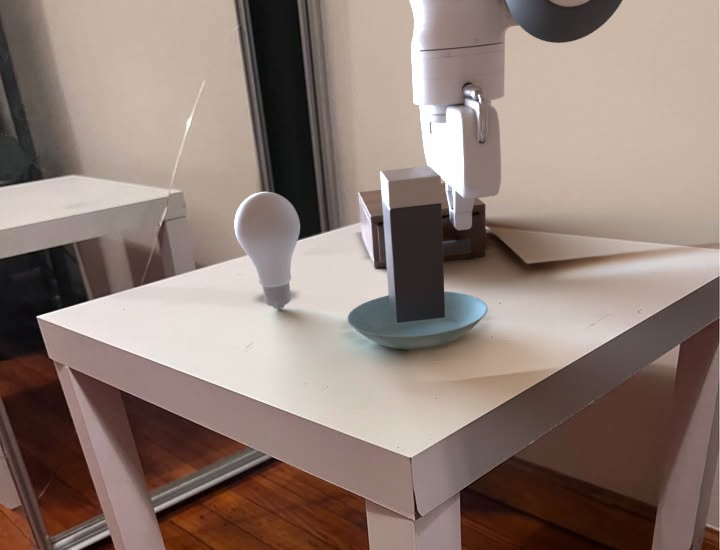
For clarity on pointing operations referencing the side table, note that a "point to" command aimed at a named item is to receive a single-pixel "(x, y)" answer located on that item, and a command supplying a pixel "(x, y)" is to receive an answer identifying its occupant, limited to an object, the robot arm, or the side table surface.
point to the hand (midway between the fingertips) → (460, 227)
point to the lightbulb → (269, 242)
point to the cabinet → (374, 214)
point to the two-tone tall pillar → (413, 242)
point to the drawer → (448, 237)
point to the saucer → (417, 322)
